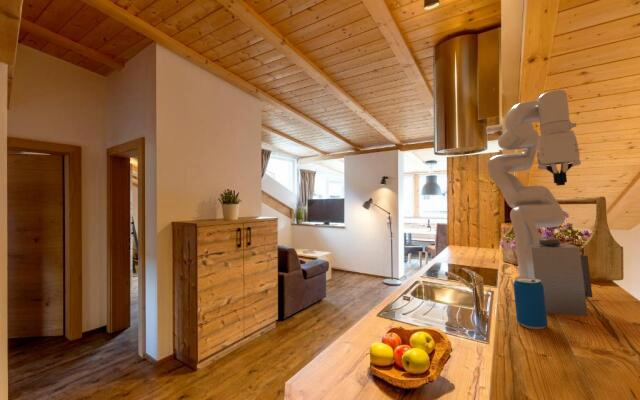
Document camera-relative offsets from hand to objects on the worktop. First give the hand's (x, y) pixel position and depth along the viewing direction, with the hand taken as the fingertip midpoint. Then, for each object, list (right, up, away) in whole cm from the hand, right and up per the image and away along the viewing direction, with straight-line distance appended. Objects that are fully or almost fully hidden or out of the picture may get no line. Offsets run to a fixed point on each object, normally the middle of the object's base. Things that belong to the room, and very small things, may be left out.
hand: (560, 185), depth 91 cm
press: (-5, -38, -7) cm, 39 cm away
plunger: (-6, -36, -6) cm, 37 cm away
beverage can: (-22, -38, -17) cm, 48 cm away
